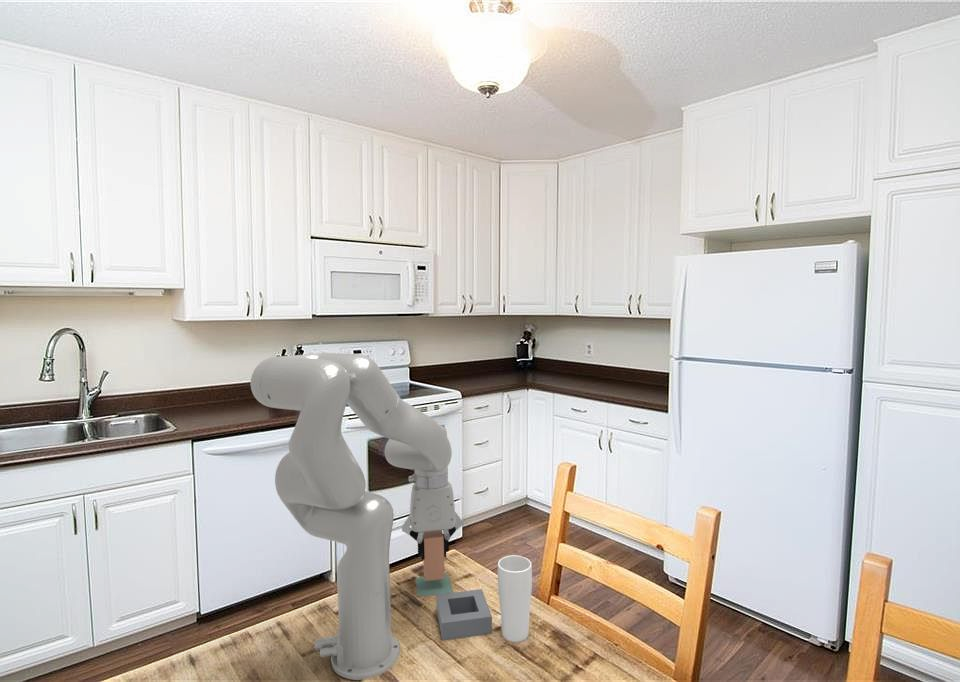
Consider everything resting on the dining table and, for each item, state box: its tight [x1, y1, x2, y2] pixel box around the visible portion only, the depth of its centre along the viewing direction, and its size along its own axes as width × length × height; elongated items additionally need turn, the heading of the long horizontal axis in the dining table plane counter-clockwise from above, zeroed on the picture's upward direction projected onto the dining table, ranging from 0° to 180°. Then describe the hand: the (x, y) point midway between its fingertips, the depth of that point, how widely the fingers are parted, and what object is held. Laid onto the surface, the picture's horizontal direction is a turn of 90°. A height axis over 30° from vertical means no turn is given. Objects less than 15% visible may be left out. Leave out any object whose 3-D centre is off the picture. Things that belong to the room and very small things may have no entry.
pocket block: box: [435, 588, 493, 641], centre depth 108 cm, size 10×10×4 cm
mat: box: [415, 573, 454, 598], centre depth 121 cm, size 8×8×1 cm
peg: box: [422, 530, 445, 581], centre depth 121 cm, size 4×4×10 cm
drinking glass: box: [497, 554, 533, 643], centre depth 103 cm, size 7×7×15 cm
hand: (433, 554), depth 121 cm, fingers closed on peg, 4 cm apart
